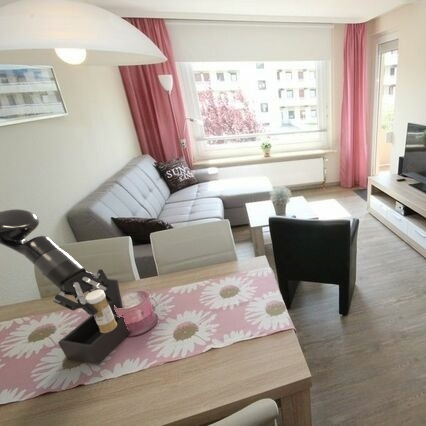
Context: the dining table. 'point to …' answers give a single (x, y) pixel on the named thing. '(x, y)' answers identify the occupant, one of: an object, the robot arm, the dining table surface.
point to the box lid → (114, 291)
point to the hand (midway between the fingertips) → (104, 307)
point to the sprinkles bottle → (101, 311)
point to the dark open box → (92, 341)
